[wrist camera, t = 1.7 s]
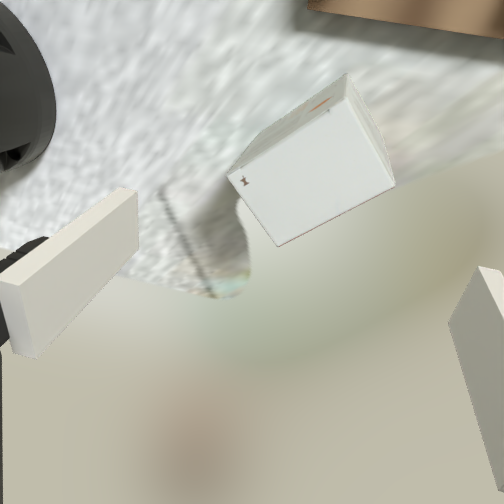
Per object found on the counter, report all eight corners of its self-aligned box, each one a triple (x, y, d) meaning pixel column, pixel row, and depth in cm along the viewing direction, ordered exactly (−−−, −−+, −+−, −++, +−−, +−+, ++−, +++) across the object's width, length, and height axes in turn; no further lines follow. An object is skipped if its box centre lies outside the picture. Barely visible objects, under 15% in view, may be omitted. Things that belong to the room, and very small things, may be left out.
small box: (295, 188, 33) (274, 251, 25) (258, 131, 32) (221, 177, 23) (385, 137, 30) (399, 189, 21) (348, 69, 28) (346, 95, 19)
